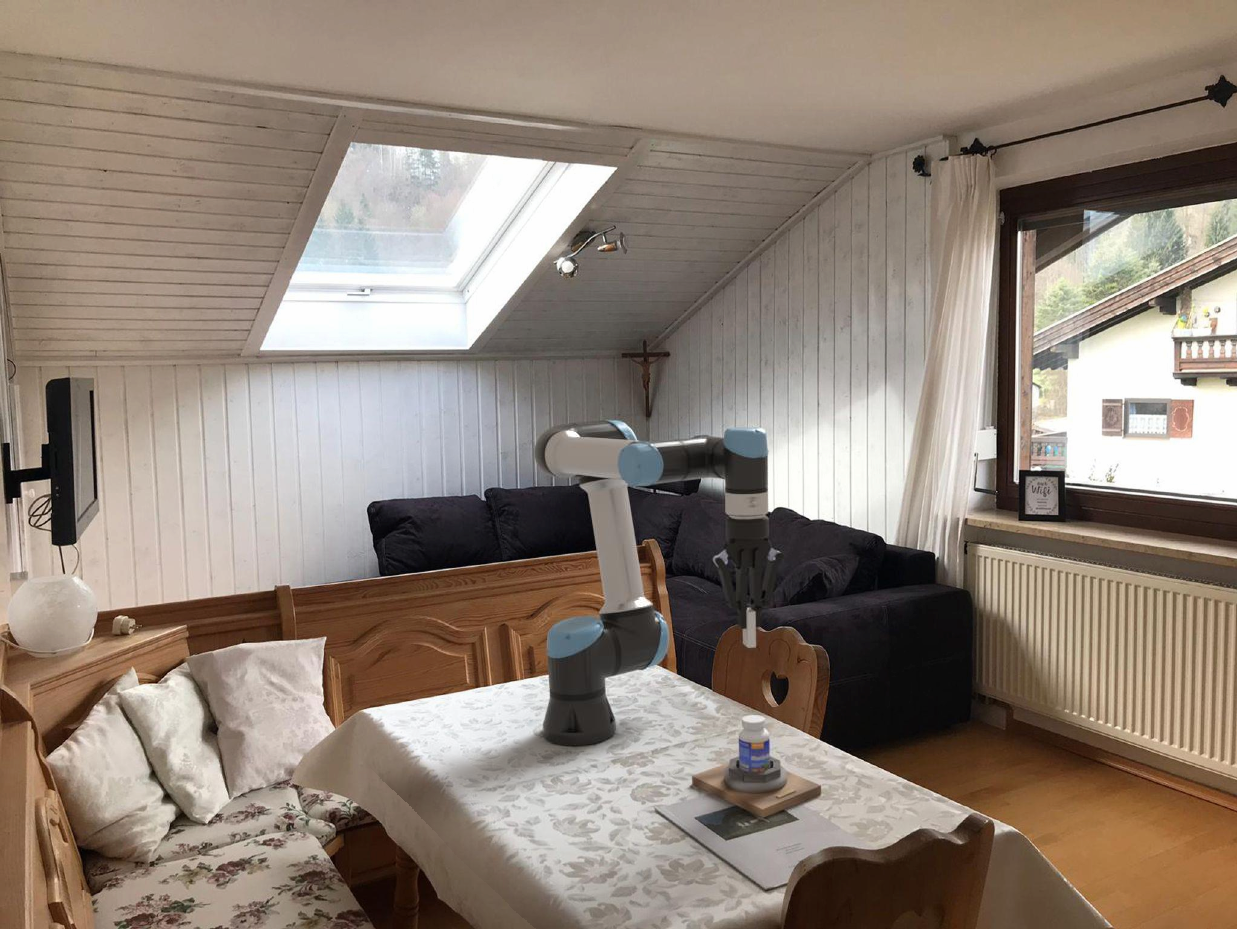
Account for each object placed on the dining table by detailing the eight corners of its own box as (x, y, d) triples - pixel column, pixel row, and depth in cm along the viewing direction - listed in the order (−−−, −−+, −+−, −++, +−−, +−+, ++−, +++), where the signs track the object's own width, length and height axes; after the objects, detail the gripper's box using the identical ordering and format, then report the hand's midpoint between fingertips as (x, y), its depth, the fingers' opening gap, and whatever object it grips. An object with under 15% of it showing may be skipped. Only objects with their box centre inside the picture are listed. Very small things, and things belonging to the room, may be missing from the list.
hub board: (692, 783, 178) (691, 759, 177) (749, 763, 186) (748, 739, 185) (762, 818, 163) (761, 791, 163) (821, 793, 171) (820, 768, 171)
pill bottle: (753, 781, 170) (751, 726, 170) (733, 771, 175) (731, 718, 174) (777, 773, 173) (775, 719, 172) (756, 763, 178) (754, 711, 177)
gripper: (718, 521, 169) (721, 655, 172) (789, 516, 172) (791, 647, 175) (705, 514, 176) (708, 643, 179) (774, 509, 179) (776, 636, 182)
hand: (749, 645), depth 177 cm, fingers closed
